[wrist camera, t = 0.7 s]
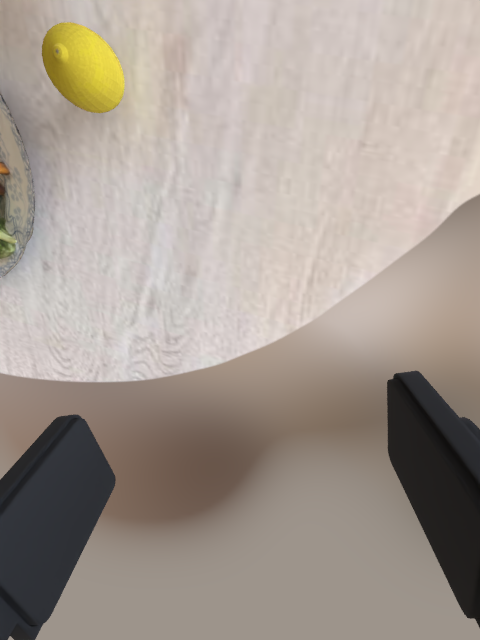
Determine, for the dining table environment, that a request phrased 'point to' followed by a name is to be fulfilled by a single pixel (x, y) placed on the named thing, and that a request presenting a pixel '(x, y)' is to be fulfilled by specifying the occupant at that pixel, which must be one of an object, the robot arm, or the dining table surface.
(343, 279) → the dining table surface
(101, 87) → the lemon
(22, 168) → the plate of food
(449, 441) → the robot arm
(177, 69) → the dining table surface
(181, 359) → the dining table surface
